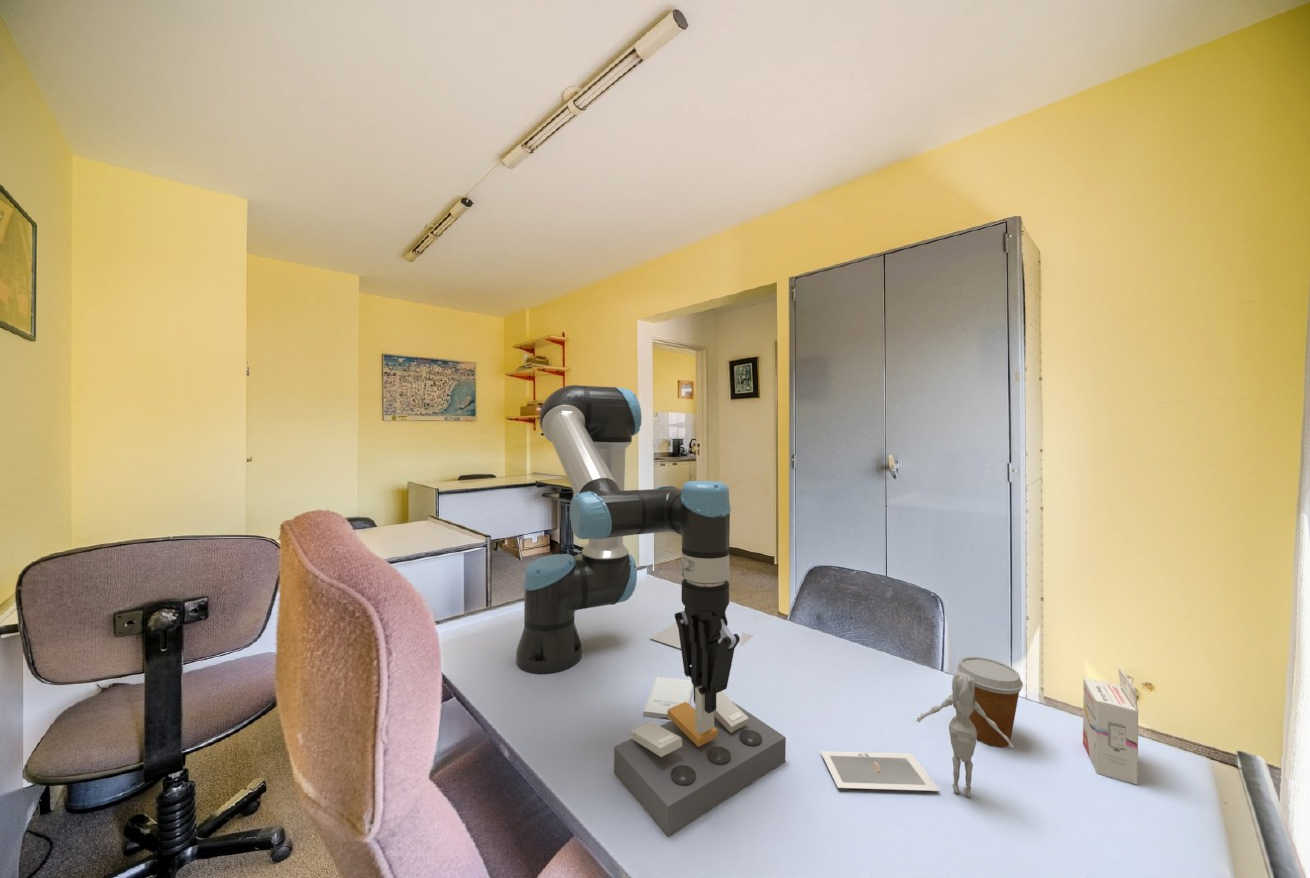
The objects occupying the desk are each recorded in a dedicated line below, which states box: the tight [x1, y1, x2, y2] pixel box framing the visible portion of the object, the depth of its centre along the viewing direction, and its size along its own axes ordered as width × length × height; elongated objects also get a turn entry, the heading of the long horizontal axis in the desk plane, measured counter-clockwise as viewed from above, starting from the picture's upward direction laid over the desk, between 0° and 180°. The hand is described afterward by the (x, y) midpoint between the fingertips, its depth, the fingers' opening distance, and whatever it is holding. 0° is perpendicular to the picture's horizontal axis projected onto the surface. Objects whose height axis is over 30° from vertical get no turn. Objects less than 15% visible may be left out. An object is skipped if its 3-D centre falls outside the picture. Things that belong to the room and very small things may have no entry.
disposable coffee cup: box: [956, 656, 1024, 748], centre depth 81 cm, size 10×10×12 cm
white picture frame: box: [820, 750, 941, 792], centre depth 71 cm, size 8×15×2 cm, turn 88°
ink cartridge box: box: [1082, 667, 1139, 786], centre depth 74 cm, size 9×5×15 cm, turn 148°
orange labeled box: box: [667, 702, 718, 747], centre depth 74 cm, size 8×4×1 cm, turn 35°
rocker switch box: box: [613, 701, 787, 837], centre depth 73 cm, size 14×24×4 cm, turn 126°
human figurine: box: [915, 671, 1015, 798], centre depth 67 cm, size 12×4×18 cm, turn 61°
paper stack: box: [649, 622, 754, 650], centre depth 120 cm, size 23×25×1 cm
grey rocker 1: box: [631, 721, 682, 757], centre depth 71 cm, size 8×4×1 cm, turn 36°
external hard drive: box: [642, 676, 694, 721], centre depth 91 cm, size 2×8×12 cm
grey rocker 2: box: [714, 691, 749, 733], centre depth 78 cm, size 8×4×1 cm, turn 35°
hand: (704, 727), depth 72 cm, fingers closed
